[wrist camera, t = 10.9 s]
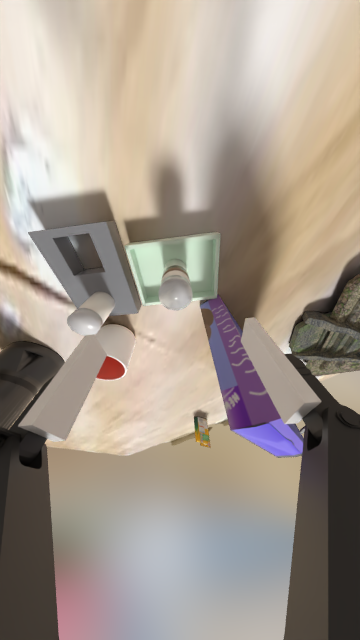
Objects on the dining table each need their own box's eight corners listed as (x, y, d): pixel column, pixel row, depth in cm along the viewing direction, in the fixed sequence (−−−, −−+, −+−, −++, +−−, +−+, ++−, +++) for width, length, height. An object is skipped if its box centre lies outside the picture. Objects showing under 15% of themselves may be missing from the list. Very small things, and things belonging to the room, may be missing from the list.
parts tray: (145, 298, 32) (143, 305, 29) (129, 242, 25) (124, 246, 22) (213, 291, 31) (217, 298, 28) (216, 231, 24) (220, 233, 22)
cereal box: (199, 305, 33) (231, 432, 14) (218, 293, 31) (283, 421, 12) (231, 345, 41) (278, 459, 22) (247, 338, 40) (312, 454, 20)
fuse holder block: (91, 309, 33) (60, 344, 24) (45, 230, 24) (-34, 239, 15) (141, 304, 32) (128, 338, 24) (114, 220, 23) (75, 224, 14)
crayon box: (193, 417, 75) (195, 446, 65) (197, 416, 73) (200, 445, 64) (202, 421, 78) (206, 449, 68) (206, 419, 76) (210, 447, 67)
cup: (99, 317, 34) (76, 348, 26) (140, 328, 37) (129, 359, 29) (98, 343, 40) (78, 375, 32) (133, 351, 42) (123, 383, 34)
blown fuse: (166, 283, 29) (162, 312, 20) (161, 260, 26) (154, 281, 17) (188, 280, 28) (193, 308, 19) (185, 256, 26) (191, 276, 17)
